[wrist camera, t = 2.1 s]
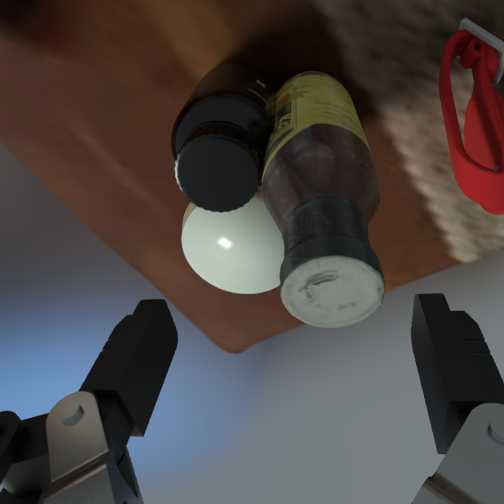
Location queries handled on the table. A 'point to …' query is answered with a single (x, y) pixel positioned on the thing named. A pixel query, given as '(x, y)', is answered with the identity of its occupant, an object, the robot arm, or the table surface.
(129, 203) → the table surface
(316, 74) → the sauce bottle
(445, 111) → the tracker holder
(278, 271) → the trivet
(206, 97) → the supplement bottle
